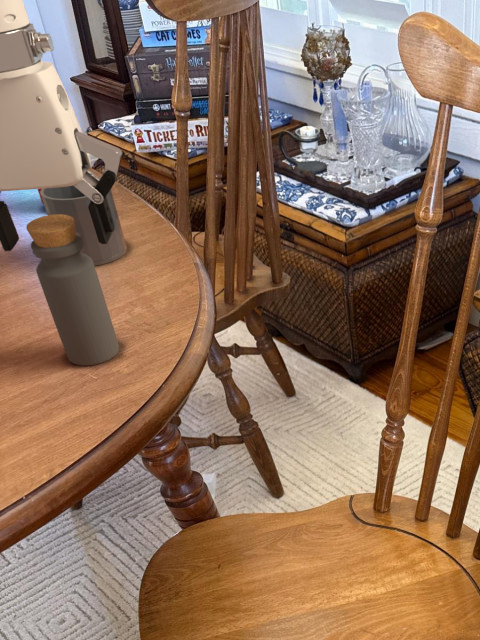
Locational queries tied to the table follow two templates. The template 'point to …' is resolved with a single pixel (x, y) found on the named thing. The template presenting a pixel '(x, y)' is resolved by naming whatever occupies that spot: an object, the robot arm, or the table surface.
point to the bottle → (72, 291)
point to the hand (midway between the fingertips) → (59, 242)
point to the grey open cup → (86, 222)
